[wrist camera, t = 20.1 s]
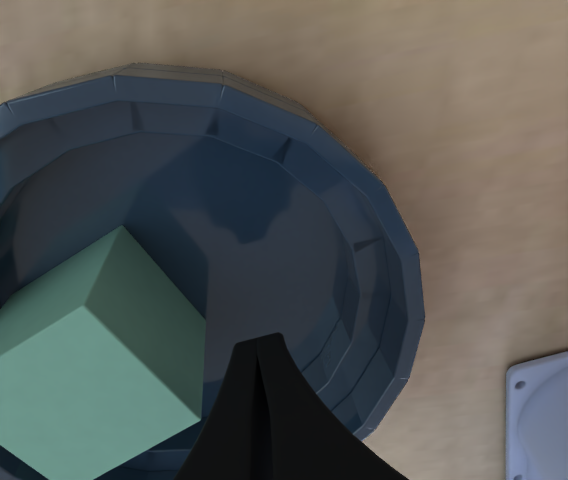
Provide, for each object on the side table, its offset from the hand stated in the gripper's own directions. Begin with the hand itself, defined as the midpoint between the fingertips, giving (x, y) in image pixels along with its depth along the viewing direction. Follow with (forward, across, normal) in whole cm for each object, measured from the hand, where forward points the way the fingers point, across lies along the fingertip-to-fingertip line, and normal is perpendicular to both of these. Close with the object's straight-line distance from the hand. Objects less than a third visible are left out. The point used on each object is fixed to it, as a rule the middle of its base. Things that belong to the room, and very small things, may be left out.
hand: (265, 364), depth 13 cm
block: (+5, +6, 0) cm, 7 cm away
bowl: (+6, +3, 0) cm, 6 cm away
